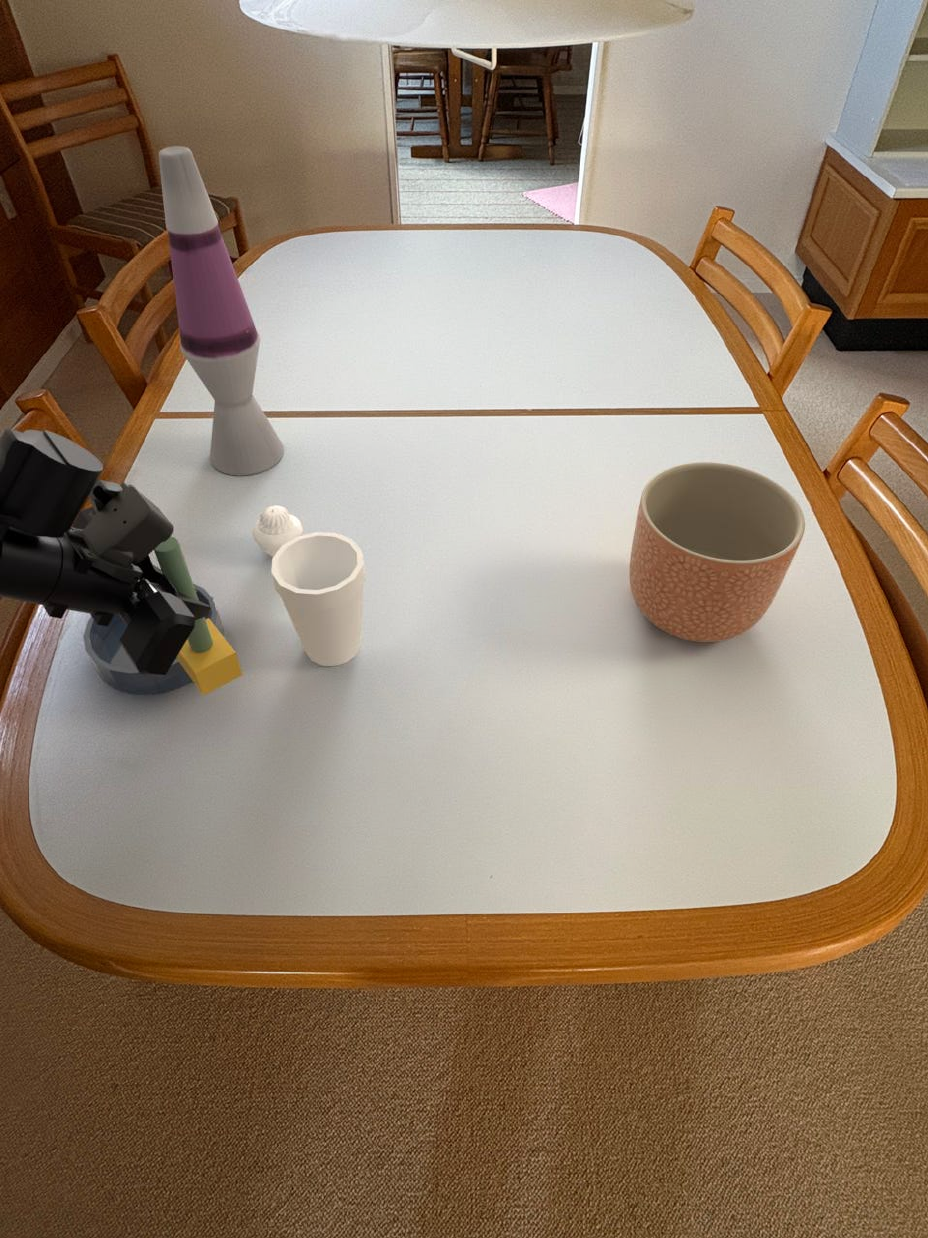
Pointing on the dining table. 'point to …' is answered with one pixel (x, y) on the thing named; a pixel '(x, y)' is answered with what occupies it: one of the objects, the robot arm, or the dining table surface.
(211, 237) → the lamp
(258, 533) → the white citrus juicer
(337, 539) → the foam cup
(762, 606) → the planter
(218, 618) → the bowl
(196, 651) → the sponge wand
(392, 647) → the dining table surface
